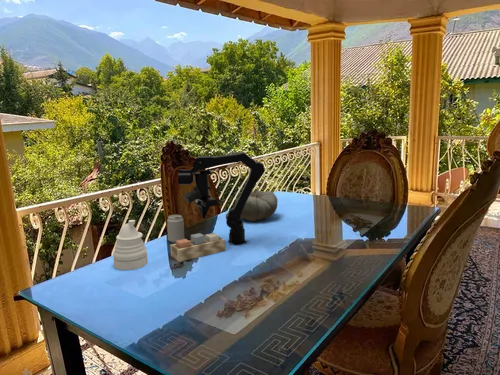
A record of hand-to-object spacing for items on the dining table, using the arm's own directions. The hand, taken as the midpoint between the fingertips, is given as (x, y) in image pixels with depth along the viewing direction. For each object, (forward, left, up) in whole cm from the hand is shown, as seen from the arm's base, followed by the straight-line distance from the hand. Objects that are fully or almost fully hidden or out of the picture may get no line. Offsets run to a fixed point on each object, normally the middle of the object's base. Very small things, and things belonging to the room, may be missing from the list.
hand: (203, 218), depth 173 cm
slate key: (+8, +10, -9) cm, 16 cm away
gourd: (-43, -20, -12) cm, 49 cm away
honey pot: (+35, +4, -12) cm, 37 cm away
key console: (+8, +10, -12) cm, 18 cm away
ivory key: (+1, +10, -10) cm, 14 cm away
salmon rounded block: (+15, +10, -10) cm, 21 cm away
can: (+9, -11, -12) cm, 19 cm away
